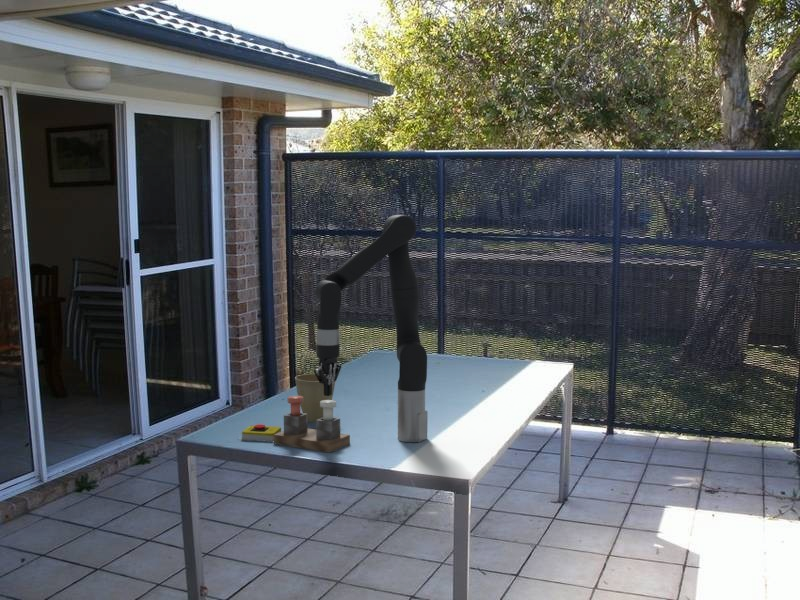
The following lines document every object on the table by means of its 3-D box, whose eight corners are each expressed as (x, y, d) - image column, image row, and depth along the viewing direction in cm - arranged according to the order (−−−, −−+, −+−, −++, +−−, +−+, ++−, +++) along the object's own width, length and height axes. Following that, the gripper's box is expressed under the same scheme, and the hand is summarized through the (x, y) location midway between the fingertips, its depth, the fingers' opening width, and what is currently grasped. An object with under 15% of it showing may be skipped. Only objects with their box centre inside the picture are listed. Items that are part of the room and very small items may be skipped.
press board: (349, 443, 266) (349, 416, 265) (329, 452, 256) (329, 425, 255) (295, 435, 277) (295, 409, 276) (273, 443, 266) (273, 416, 265)
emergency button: (246, 421, 280) (288, 423, 277) (246, 433, 280) (288, 436, 277) (236, 428, 270) (279, 430, 268) (236, 441, 271) (279, 443, 268)
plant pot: (325, 426, 288) (325, 382, 287) (288, 422, 294) (287, 379, 292) (342, 416, 302) (342, 375, 301) (306, 413, 308) (306, 372, 306)
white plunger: (339, 421, 263) (339, 401, 263) (330, 425, 259) (330, 404, 258) (326, 419, 266) (325, 399, 265) (317, 423, 261) (316, 402, 261)
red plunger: (306, 416, 270) (306, 396, 269) (297, 420, 265) (297, 399, 264) (293, 414, 272) (293, 395, 271) (284, 418, 268) (284, 398, 267)
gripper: (326, 346, 252) (326, 400, 254) (348, 341, 264) (348, 393, 266) (306, 344, 256) (306, 398, 258) (329, 339, 267) (329, 390, 269)
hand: (327, 395), depth 262 cm, fingers closed
